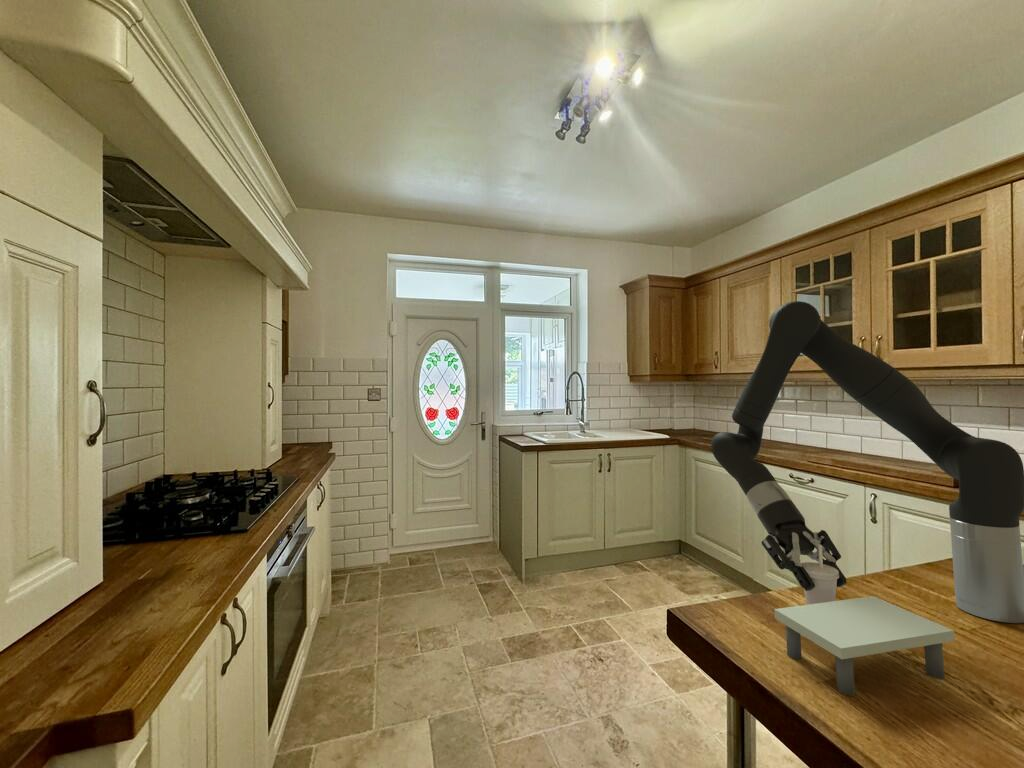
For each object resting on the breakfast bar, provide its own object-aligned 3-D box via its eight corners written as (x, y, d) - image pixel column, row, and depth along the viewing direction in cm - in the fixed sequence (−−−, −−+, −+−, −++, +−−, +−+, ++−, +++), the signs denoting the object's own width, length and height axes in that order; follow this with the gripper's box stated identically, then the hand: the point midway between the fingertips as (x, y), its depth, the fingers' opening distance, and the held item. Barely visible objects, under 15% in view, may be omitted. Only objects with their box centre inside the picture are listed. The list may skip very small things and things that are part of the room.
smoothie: (849, 630, 79) (844, 551, 79) (810, 627, 80) (805, 550, 80) (831, 613, 85) (827, 540, 85) (794, 611, 86) (790, 539, 87)
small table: (875, 636, 76) (873, 596, 77) (957, 679, 64) (954, 630, 65) (776, 652, 72) (774, 609, 73) (844, 700, 61) (841, 648, 61)
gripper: (753, 500, 89) (805, 582, 77) (812, 495, 92) (872, 574, 80) (736, 520, 94) (782, 599, 82) (793, 515, 97) (846, 591, 85)
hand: (826, 586), depth 81 cm, fingers closed on smoothie, 6 cm apart
